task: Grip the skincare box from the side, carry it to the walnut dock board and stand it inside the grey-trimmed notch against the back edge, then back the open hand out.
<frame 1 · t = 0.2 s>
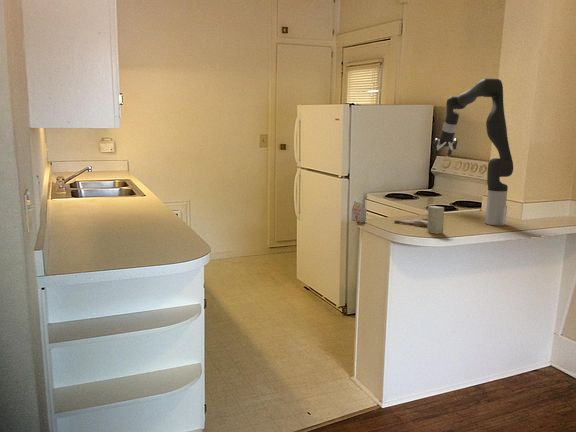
hand: (442, 155, 309), 31 cm above the counter, tool tilted 20°, fingers open, 8 cm apart
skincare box: (434, 233, 237), on the counter
pink printed carton: (358, 221, 262), on the counter
dock board: (417, 223, 257), on the counter
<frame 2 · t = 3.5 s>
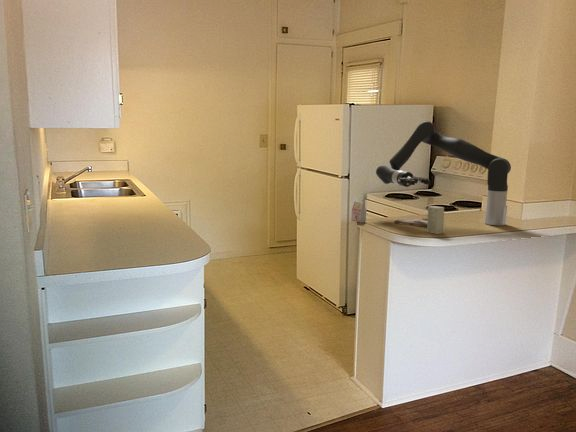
hand: (421, 182, 244), 22 cm above the counter, tool horizontal, fingers open, 8 cm apart
nothing on the counter moved.
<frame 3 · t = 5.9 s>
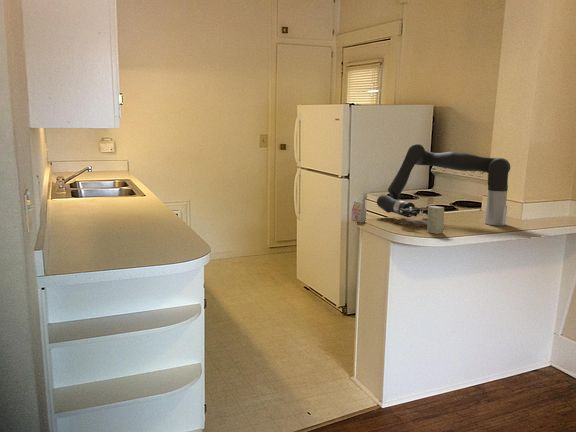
hand: (424, 213, 243), 7 cm above the counter, tool horizontal, fingers open, 8 cm apart
nothing on the counter moved.
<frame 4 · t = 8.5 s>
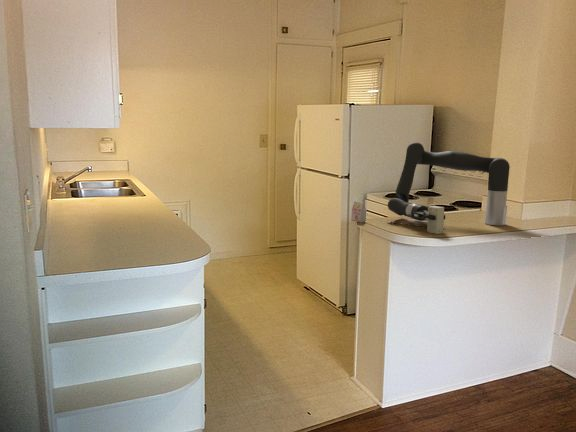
hand: (439, 217, 233), 7 cm above the counter, tool horizontal, fingers closed on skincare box, 5 cm apart
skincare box: (434, 233, 237), on the counter, touching gripper
everything else where it was.
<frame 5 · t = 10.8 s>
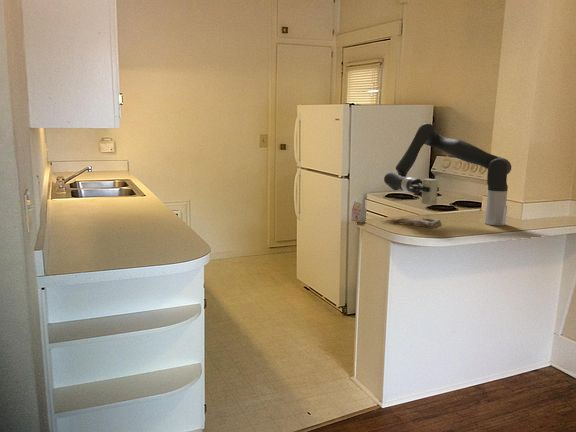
hand: (433, 189, 245), 19 cm above the counter, tool horizontal, fingers closed on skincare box, 5 cm apart
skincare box: (428, 204, 249), point 11 cm above the counter, touching gripper
everything else where it was.
when the fingers open (10 cm above the counter, at t = 13.3 s): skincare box stays where it is, resting on dock board.
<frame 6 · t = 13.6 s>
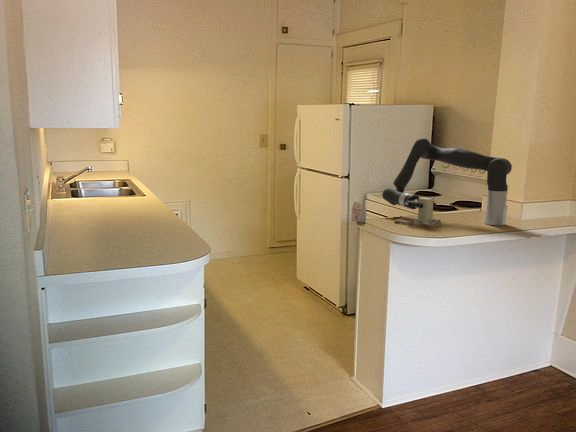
hand: (429, 205, 251), 10 cm above the counter, tool horizontal, fingers open, 7 cm apart
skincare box: (424, 222, 255), point 1 cm above the counter, touching dock board
everything else where it was.
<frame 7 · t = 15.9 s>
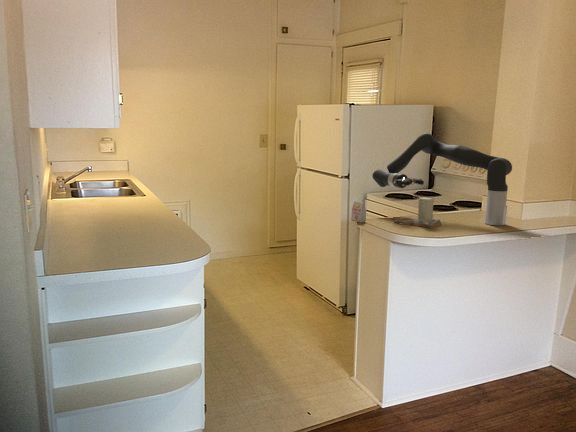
hand: (416, 183, 260), 20 cm above the counter, tool horizontal, fingers open, 8 cm apart
nothing on the counter moved.
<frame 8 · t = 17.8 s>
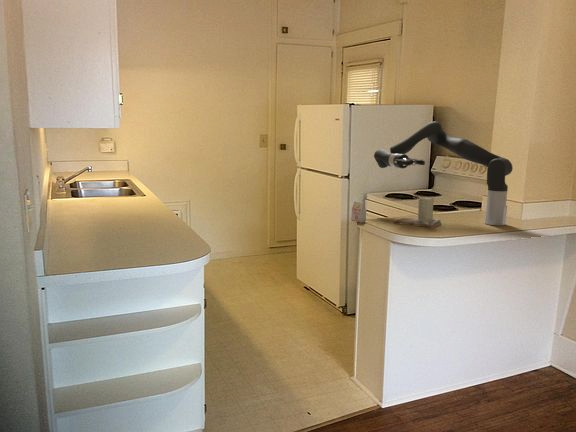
hand: (417, 163, 259), 30 cm above the counter, tool horizontal, fingers open, 8 cm apart
nothing on the counter moved.
at the end: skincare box inside the target area on the dock board (0.3 cm from its centre), point 1.1 cm above the dock board's base; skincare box tilted 0°; the gripper is holding nothing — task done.
